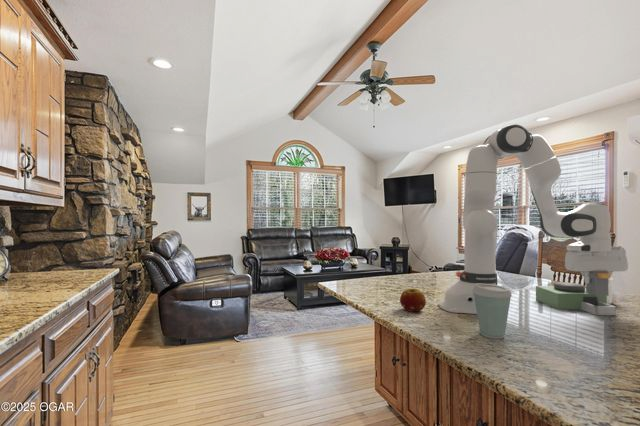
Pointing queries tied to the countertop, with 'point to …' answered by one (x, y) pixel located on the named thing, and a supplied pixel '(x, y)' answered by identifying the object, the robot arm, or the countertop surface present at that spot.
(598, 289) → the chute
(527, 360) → the countertop surface
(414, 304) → the fruit
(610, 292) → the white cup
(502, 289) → the disposable coffee cup
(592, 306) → the green and grey base
